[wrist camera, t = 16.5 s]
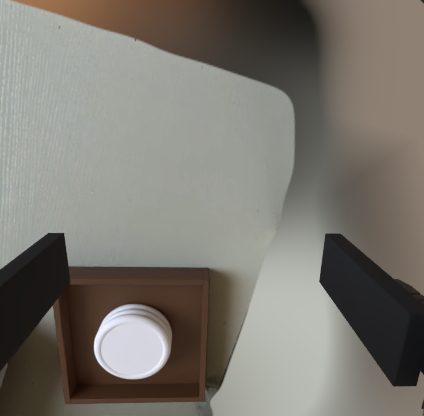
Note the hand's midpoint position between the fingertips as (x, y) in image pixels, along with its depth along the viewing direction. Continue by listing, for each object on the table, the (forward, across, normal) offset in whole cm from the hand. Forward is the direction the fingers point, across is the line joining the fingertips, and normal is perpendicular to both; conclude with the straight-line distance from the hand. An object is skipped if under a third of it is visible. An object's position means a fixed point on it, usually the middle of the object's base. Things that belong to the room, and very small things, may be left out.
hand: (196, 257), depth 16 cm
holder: (+23, -9, -22) cm, 34 cm away
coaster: (+23, -9, -22) cm, 33 cm away
